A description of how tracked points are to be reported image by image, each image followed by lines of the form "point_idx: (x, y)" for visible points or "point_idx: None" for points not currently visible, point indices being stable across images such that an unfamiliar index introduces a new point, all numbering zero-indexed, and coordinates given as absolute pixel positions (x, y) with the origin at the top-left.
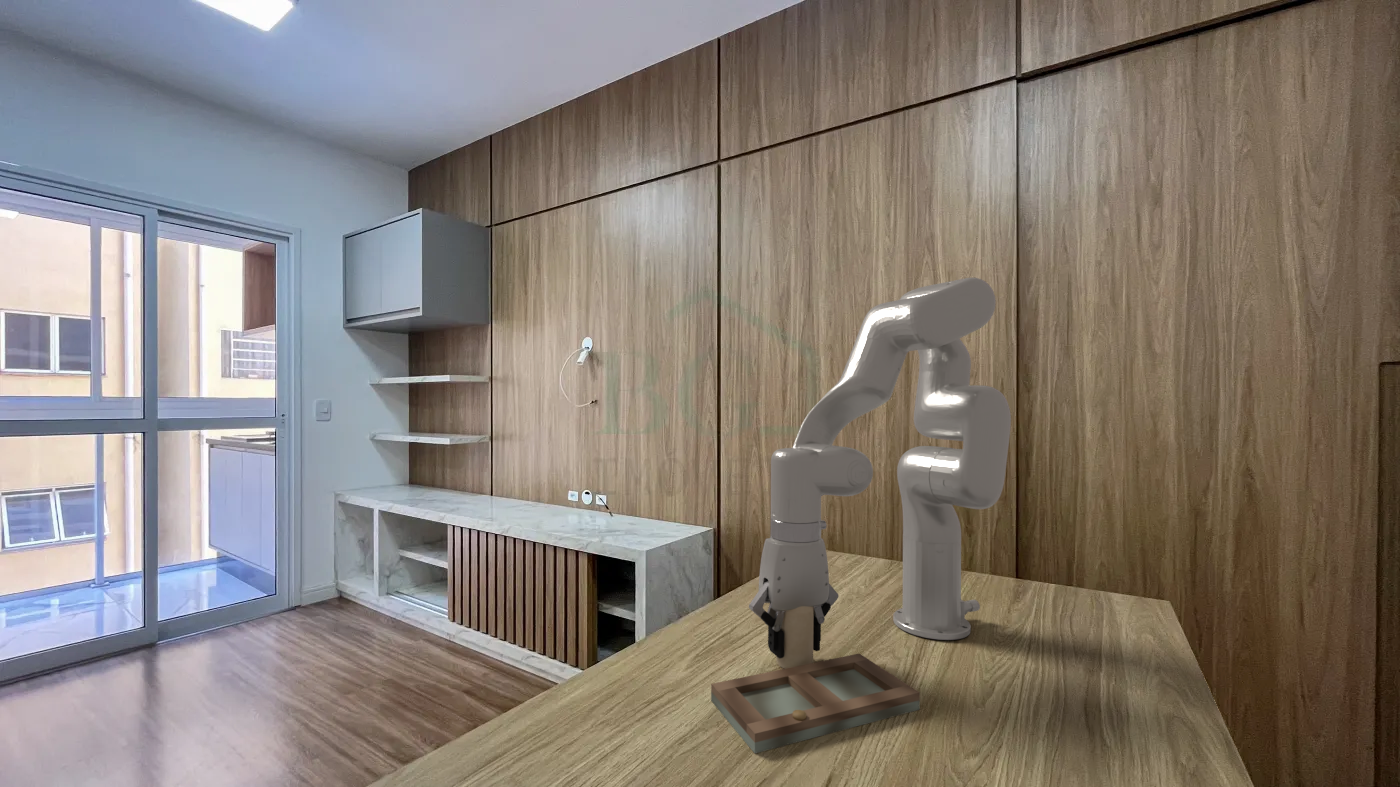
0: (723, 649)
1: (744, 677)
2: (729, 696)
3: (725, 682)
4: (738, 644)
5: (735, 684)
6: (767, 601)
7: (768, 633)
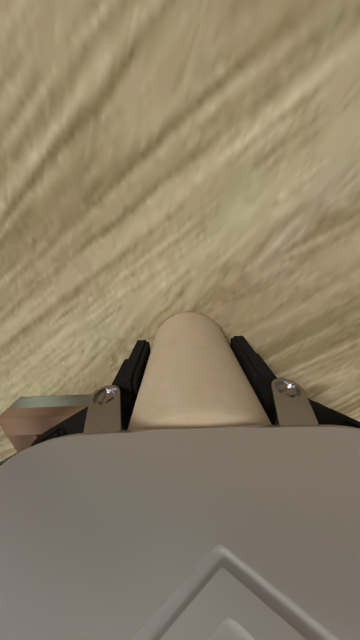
0: (60, 233)
1: (54, 418)
2: (24, 448)
3: (20, 420)
4: (104, 217)
5: (37, 428)
6: (77, 434)
7: (115, 379)
